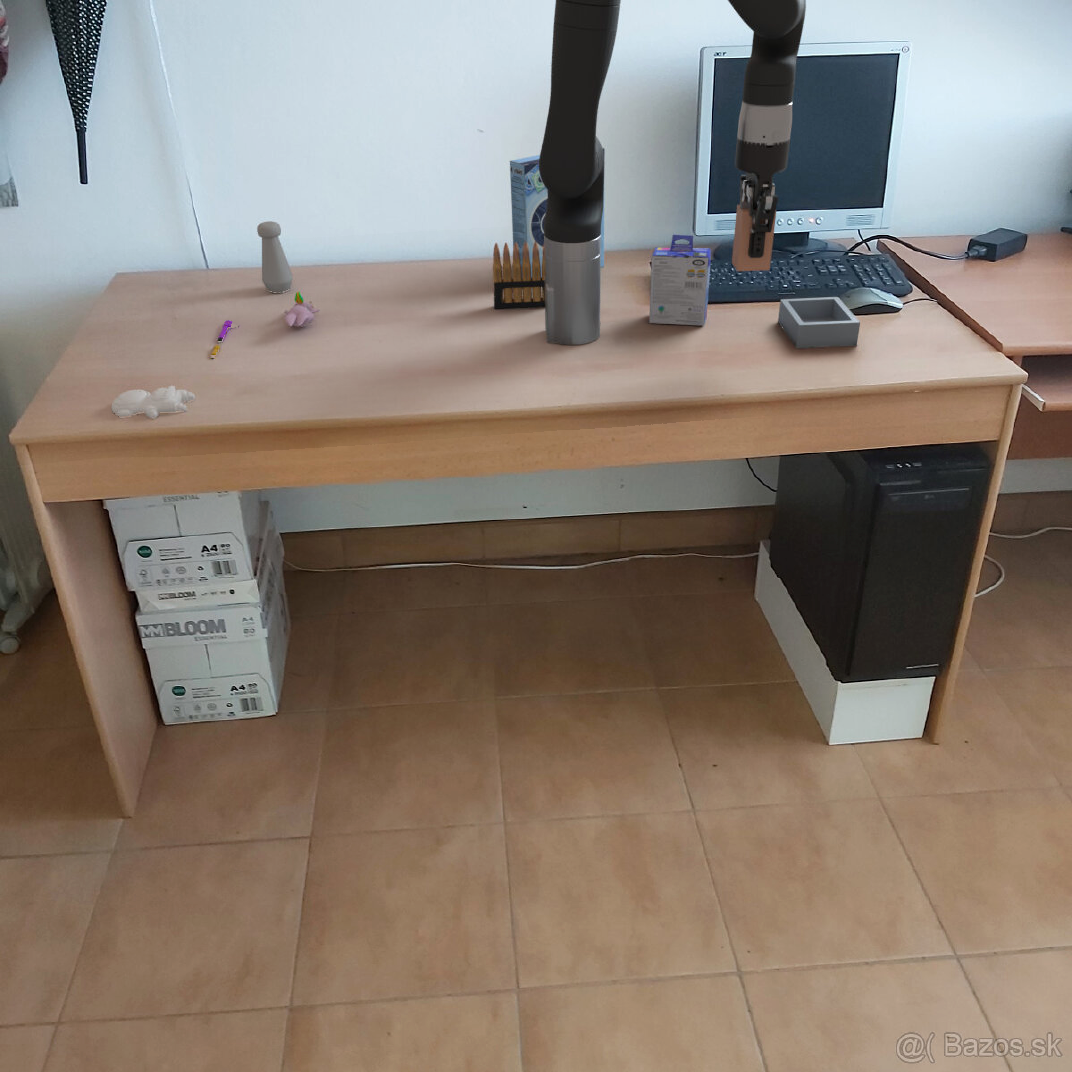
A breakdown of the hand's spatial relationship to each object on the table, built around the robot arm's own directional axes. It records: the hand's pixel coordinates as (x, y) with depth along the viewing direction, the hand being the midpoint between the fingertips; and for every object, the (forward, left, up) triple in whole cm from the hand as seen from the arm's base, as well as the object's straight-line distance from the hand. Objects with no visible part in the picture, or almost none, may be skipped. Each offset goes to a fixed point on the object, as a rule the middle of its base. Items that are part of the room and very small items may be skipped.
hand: (751, 251), depth 155 cm
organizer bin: (+14, +7, -17) cm, 23 cm away
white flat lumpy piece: (-93, -10, -17) cm, 95 cm away
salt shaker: (-82, +41, -17) cm, 93 cm away
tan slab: (0, 0, -2) cm, 2 cm away
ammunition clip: (-35, +26, -17) cm, 47 cm away
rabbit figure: (-75, +22, -17) cm, 80 cm away
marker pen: (-87, +16, -17) cm, 90 cm away
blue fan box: (-27, +43, -17) cm, 53 cm away
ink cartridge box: (-8, +16, -17) cm, 25 cm away
